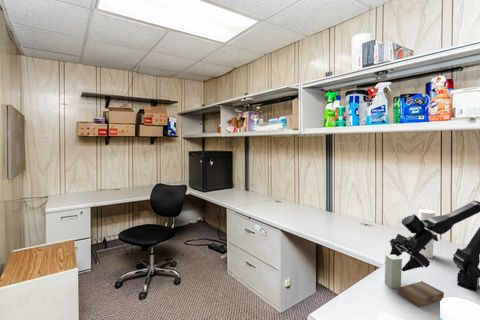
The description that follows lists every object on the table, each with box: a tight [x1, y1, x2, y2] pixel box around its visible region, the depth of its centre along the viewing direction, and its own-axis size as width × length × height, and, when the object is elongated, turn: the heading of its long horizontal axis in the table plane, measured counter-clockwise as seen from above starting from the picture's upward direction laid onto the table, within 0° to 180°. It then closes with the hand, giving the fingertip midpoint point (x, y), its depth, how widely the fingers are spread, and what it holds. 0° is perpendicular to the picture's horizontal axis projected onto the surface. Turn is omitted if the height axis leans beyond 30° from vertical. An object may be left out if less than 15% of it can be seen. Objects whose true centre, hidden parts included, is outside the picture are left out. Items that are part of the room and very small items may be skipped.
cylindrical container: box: [418, 209, 436, 259], centre depth 146 cm, size 7×7×25 cm
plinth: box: [397, 281, 445, 308], centre depth 108 cm, size 14×9×3 cm, turn 110°
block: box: [384, 254, 403, 289], centre depth 117 cm, size 4×4×13 cm
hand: (395, 265), depth 117 cm, fingers open, 9 cm apart
